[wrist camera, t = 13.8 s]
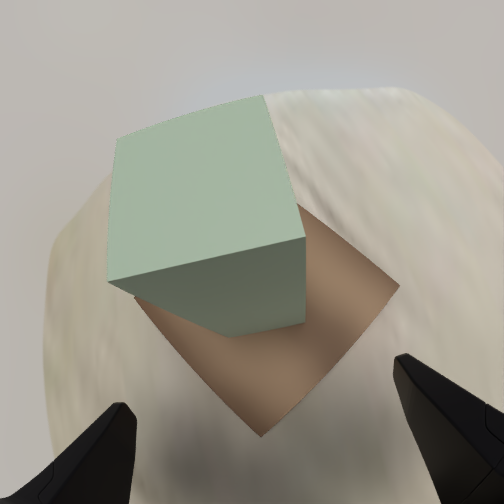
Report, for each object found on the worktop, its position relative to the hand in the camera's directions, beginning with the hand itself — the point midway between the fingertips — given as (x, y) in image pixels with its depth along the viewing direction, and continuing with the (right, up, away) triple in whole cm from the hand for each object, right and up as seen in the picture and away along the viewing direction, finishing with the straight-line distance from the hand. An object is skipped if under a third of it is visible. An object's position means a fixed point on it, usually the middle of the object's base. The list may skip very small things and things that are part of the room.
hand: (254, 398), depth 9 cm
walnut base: (+1, +1, +12) cm, 12 cm away
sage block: (0, +2, +9) cm, 10 cm away
